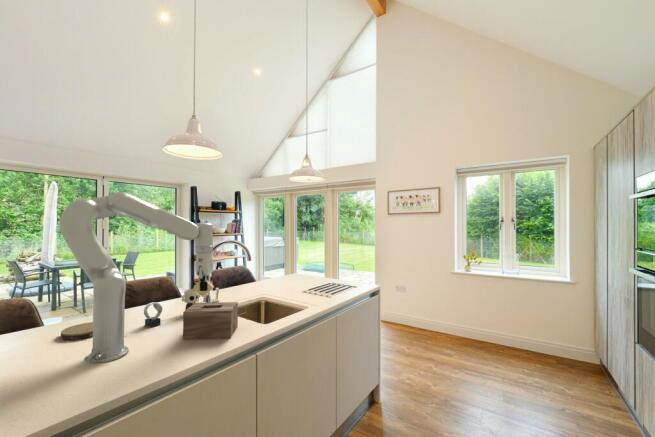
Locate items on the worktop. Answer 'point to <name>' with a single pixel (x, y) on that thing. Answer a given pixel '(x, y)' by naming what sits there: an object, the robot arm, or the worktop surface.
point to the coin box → (210, 320)
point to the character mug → (190, 297)
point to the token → (203, 293)
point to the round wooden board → (78, 332)
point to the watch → (153, 320)
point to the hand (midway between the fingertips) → (204, 289)
